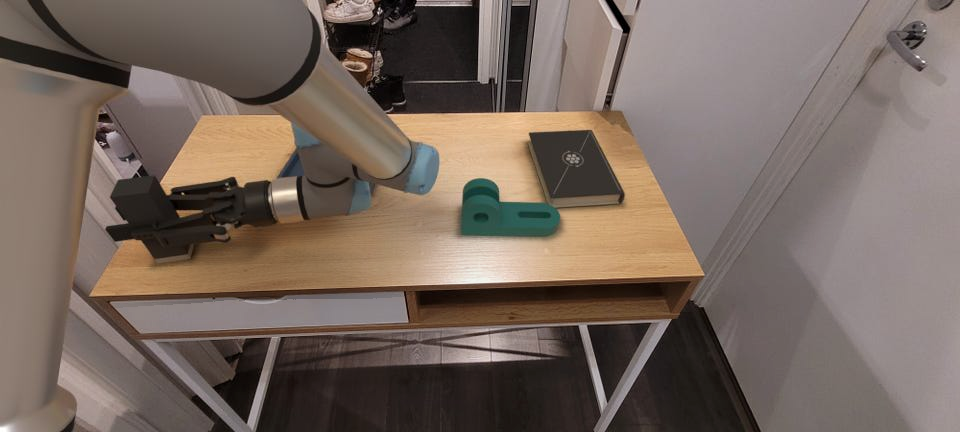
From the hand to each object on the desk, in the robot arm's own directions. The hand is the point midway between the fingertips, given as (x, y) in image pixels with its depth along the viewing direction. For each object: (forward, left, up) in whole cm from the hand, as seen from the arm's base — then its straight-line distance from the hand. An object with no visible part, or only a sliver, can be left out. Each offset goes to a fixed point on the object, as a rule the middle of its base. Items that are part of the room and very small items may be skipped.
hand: (115, 223), depth 71 cm
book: (+73, +34, -9) cm, 81 cm away
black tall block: (+5, +2, -8) cm, 10 cm away
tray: (+24, +27, -8) cm, 37 cm away
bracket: (+61, +17, -9) cm, 64 cm away
